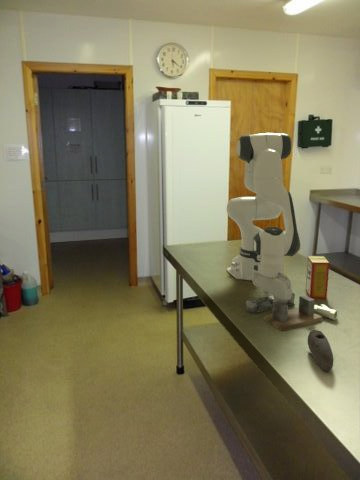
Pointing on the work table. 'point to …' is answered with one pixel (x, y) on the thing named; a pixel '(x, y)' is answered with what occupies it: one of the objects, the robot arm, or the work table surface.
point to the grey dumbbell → (264, 304)
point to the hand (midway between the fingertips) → (270, 303)
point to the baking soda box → (317, 277)
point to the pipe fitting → (325, 311)
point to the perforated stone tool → (320, 349)
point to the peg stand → (293, 314)
